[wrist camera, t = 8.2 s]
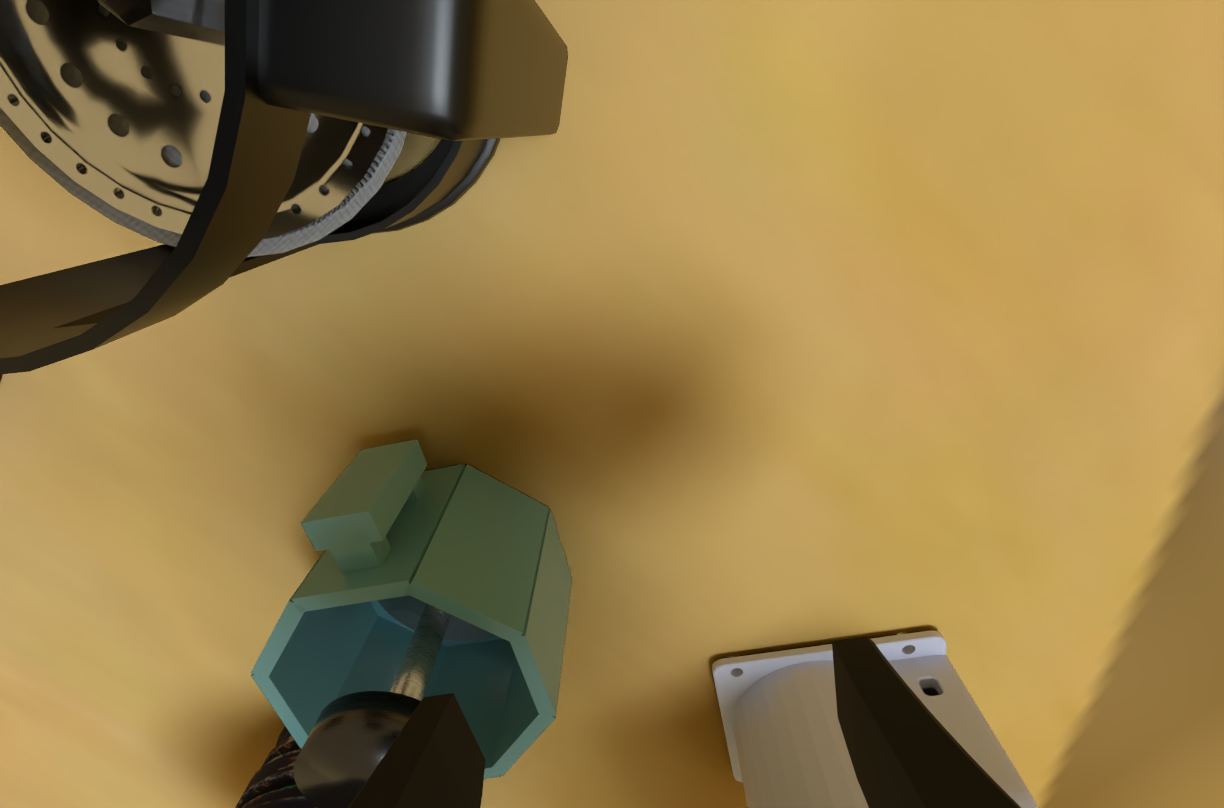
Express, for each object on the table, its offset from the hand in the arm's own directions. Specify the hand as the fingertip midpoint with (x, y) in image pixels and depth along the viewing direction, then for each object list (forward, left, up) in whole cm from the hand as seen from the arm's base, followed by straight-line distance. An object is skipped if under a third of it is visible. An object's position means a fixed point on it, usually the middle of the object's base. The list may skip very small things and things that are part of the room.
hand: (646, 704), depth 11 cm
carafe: (+8, +4, -10) cm, 14 cm away
